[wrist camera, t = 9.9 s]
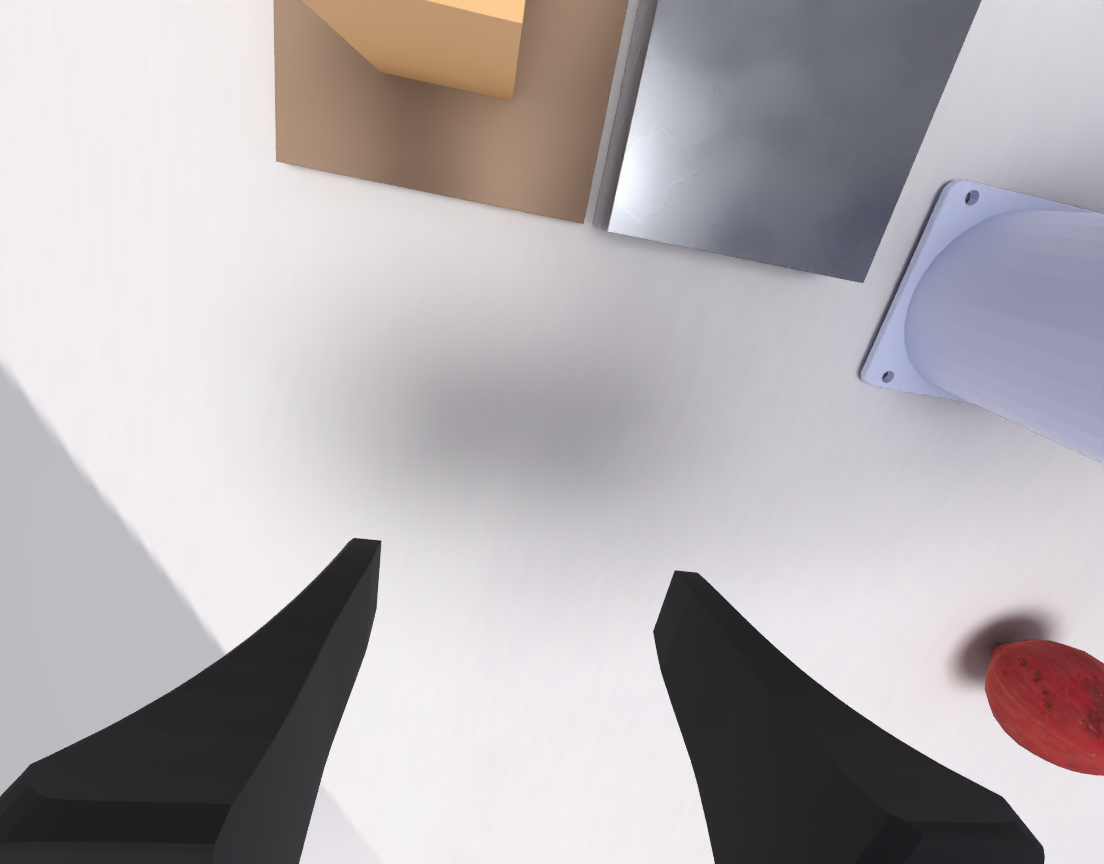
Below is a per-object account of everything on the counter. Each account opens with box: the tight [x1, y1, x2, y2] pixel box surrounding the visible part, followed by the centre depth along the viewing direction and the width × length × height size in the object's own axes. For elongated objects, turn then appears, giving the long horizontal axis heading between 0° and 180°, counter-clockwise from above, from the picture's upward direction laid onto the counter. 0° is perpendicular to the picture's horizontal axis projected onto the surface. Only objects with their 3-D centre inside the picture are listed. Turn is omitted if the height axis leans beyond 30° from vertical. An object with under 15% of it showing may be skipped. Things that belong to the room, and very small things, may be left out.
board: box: [274, 0, 628, 224], centre depth 16 cm, size 10×10×1 cm
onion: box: [985, 640, 1104, 776], centre depth 27 cm, size 6×6×8 cm
